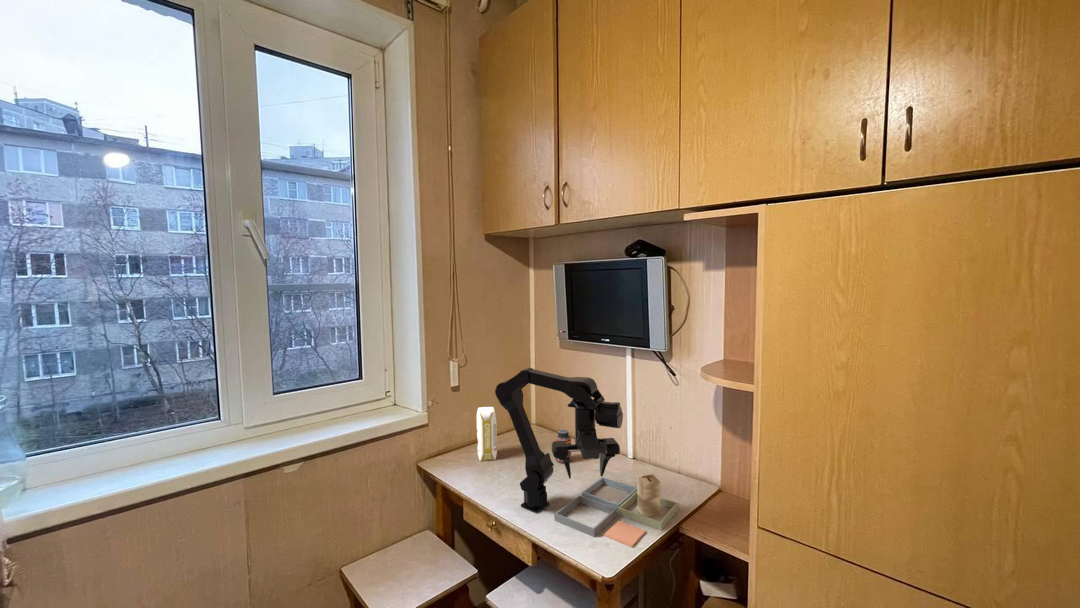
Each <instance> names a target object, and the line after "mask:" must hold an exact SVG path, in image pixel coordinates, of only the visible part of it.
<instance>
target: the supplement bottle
mask: <svg viewBox="0 0 1080 608" xmlns="http://www.w3.org/2000/svg"><path fill="white" fill-rule="evenodd" d="M555 441H565V442H566V444H567V445H571V444H572V438H571V436H570V433H569V430H567V429H559V430H558V431H557V435H556V437H555ZM568 456H569V463H570V462H571V460H572V452H568ZM555 461H556V462H558V463H560V464H564V462H563V460H559V459H558V458H555Z"/></svg>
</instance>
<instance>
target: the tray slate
mask: <svg viewBox="0 0 1080 608" xmlns="http://www.w3.org/2000/svg"><path fill="white" fill-rule="evenodd" d="M601 485H605V486H609V487H613V488H616V489H618V490H619V489H620V490H622V491H625V492H629V494H628V495H626V496H625V497H624V498H623V499H622V500H620V502H618V503H617V502H614V501H610V500H608V499H605V498H602V497H599V496H597V495H593V494H592V492H594V491H595V490H596V489H598V488H599V487H600V486H601ZM636 491H637V486H633V485H630V484H627V483H623V482H621V481H617V480H614V479H610V478H607V477H605V476H602V477H601V476H600V478H599V479H597V480H596V481H594V483H592V484H591V485H589V486H588V487H587V488H585V489H584V490H582V491H581V496H583V497H586V498H589V499H592V500H594V501H597V502H600V503H603V504H606V505H609V506H611V507H614V508H617V512H618V507H619V506H621V505H622V504H623V503H624V502H625V501H626V500H627V499H628V498H629V497H631V496H632V495H633V494H634V493H635V492H636Z"/></svg>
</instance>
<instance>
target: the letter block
mask: <svg viewBox="0 0 1080 608" xmlns="http://www.w3.org/2000/svg"><path fill="white" fill-rule="evenodd" d="M636 482H637V483H636V485H637V486H636V487H637V499H636V502H637V503H636V505H637V510H638V512H639V514H640V515H643V516H646V517H649V518H653V517H654V518H655V517H661V505H660V497H661V481H660V480H659V479H658V478H657V477H656V476H655V474H654V473H653V474H651V473H650V474H639V475H636Z"/></svg>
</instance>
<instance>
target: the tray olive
mask: <svg viewBox="0 0 1080 608" xmlns="http://www.w3.org/2000/svg"><path fill="white" fill-rule="evenodd" d="M635 501H637V491H636V492H635V493H634V494H633V495H632V496H631V497H629V498H628V499H627V500H626V501H625V502H624V503H623V504H622V505H621V506H619V507H618V511H617V516H618V515H619V516H621V517H624V518H626V519H629V520H632V521H635V522H637V521H638V523H640V522H641V524H643V523H644V525H646V526H648V525H649V527H651V526H652V527H651V528H654V529H657V530H659V529H660V531H662V530H663V529H664V528H665V526H667V524H668V523H669V521H670V520H671V519H672V518H673V517H674V516H675V514H677V512H678V511H679V506H680V505H679V504H680V503H679V502H677V501H674V500H670V499H667V498H663V497H661V496H660V506H663V507H667V508H670V510H669V511H668V512H667V513H666V514H665V515H664V516H663V518H662V519H661V520H658V519H654V518H653V517H646V516H643V515H641V513H637V512H635V511H631V510H629V509H628V508H629V507H630V506H631V505H632V504H634V503H635Z"/></svg>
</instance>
